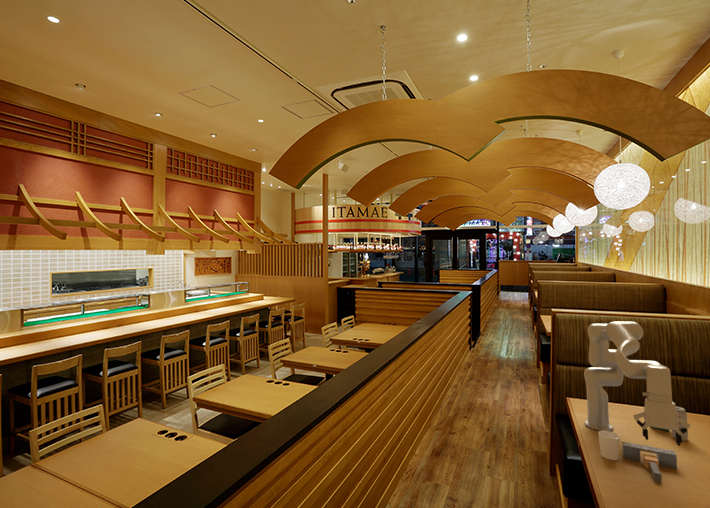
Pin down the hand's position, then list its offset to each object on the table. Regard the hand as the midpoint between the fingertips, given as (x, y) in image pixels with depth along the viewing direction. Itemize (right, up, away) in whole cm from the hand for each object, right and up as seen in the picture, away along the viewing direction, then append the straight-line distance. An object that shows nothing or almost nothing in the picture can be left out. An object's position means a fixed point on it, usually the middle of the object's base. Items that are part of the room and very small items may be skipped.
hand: (661, 441), depth 142 cm
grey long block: (+9, -18, +18) cm, 27 cm away
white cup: (-5, -19, +23) cm, 30 cm away
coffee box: (+40, -19, +48) cm, 66 cm away
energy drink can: (+41, -19, +38) cm, 59 cm away
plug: (+5, -18, +10) cm, 21 cm away
